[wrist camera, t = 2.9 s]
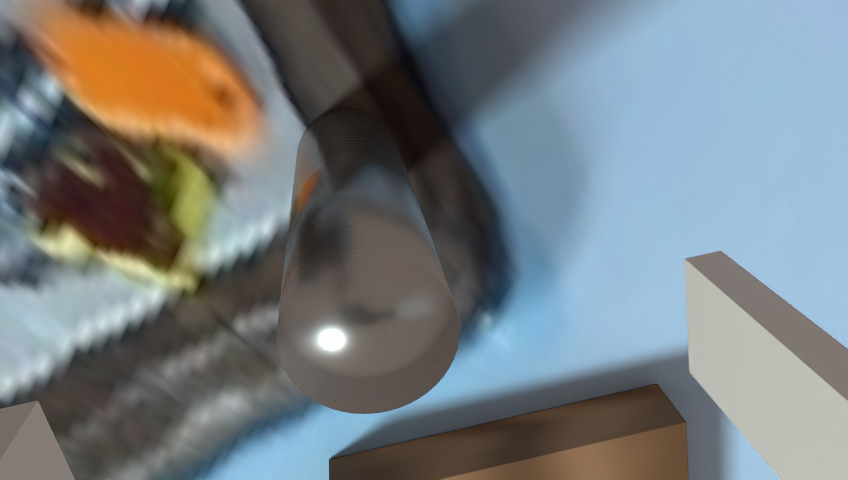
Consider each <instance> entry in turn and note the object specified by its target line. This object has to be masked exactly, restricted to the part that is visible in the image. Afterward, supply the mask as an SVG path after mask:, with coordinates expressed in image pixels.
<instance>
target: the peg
mask: <svg viewBox="0 0 848 480" xmlns="http://www.w3.org/2000/svg"><path fill="white" fill-rule="evenodd" d="M459 335H460V325H459V317H458V313H457V309H456V306H455V303H454V300H453V298H452V295H451V292H450V289H449V287H448V284H447V281H446V278H445V276H444V273H443V270H442V267H441V265H440V262H439V259H438V256H437V254H436V251H435V248H434V245H433V242H432V240H431V237H430V234H429V231H428V229H427V226H426V223H425V220H424V218H423V215H422V212H421V209H420V207H419V204H418V201H417V198H416V196H415V193H414V190H413V187H412V185H411V182H410V179H409V176H408V174H407V171H406V168H405V165H404V162H403V160H402V157H401V154H400V151H399V149H398V146H397V143H396V141H395V138H394V136H393V134H392V133H391V131H390V130H389V128H388V127H387V126H386V125H385V124H384V123H383V122H382V121H381V120H379V119H378V118H377V117H375V116H373V115H372V114H369V113H367V112H364V111H361V110H356V109H340V110H335V111H331V112H329V113H326V114H324V115H322V116H321V117H319V118H317V119H316V120H315V121H314V122H313V123H312V124H311V125H310V126H309V127H308V128H307V129H306V131H305V132H304V134H303V136H302V137H301V140H300V143H299V146H298V150H297V159H296V168H295V176H294V185H293V194H292V203H291V211H290V220H289V229H288V238H287V246H286V255H285V264H284V272H283V281H282V290H281V299H280V307H279V316H278V325H277V336H276V337H277V349H278V353H279V358H280V360H281V363H282V365H283V368H284V369H285V371H286V373H287V375H288V377H289V378H290V379H291V380H292V382H293V383H294V384H295V385H296V386H297V387H298V388H299V389H300V390H301V391H302V392H303V393H304V394H306V395H307V396H308V397H310V398H311V399H313V400H314V401H316V402H318V403H320V404H322V405H324V406H326V407H329V408H331V409H335V410H338V411H342V412H348V413H357V414H371V413H380V412H386V411H390V410H394V409H397V408H400V407H402V406H405V405H407V404H410V403H411V402H413V401H415V400H417V399H419V398H420V397H422V396H423V395H424V394H426V393H427V392H429V391H430V390H431V389H432V388H433V387H434V386H435V385H436V384H437V383H438V382H439V381H440V380H441V379H442V378H443V376H444V375H445V373H446V372H447V370H448V369H449V367H450V365H451V363H452V361H453V359H454V357H455V354H456V351H457V348H458V343H459Z"/></svg>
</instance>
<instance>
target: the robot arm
mask: <svg viewBox="0 0 848 480" xmlns="http://www.w3.org/2000/svg"><path fill="white" fill-rule="evenodd" d="M685 279H686V303H687V327H688V351H689V372H690V373H691V375H692V376H693V377H694V378H695V379H696V380H697V382H698V383H699V384H700V385H701V386H702V387H703V389H704V390H705V391H706V392H707V393H708V394H709V396H710V397H711V398H712V399H713V400H714V401H715V403H716V404H717V405H718V406H719V407H720V409H721V410H722V411H723V412H724V413H725V414H726V416H727V417H728V418H729V419H730V420H731V421H732V423H733V424H734V425H735V426H736V427H737V428H738V430H739V431H740V432H741V433H742V434H743V436H744V437H745V438H746V439H747V440H748V441H749V443H750V444H751V445H752V446H753V447H754V448H755V450H756V451H757V452H758V453H759V454H760V455H761V457H762V458H763V459H764V460H765V461H766V463H767V464H768V465H769V466H770V467H771V468H772V470H773V471H774V472H775V473H776V474H777V475H778V477H779V478H780V479H781V480H848V349H847V348H846V347H845V346H843V345H842V344H841V343H839V342H838V341H837V340H836V339H834V338H833V337H832V336H830V335H829V334H828V333H827V332H825V331H824V330H823V329H821V328H820V327H819V326H817V325H816V324H815V323H814V322H812V321H811V320H810V319H808V318H807V317H806V316H805V315H803V314H802V313H801V312H799V311H798V310H797V309H795V308H794V307H793V306H792V305H790V304H789V303H788V302H786V301H785V300H784V299H782V298H781V297H780V296H779V295H777V294H776V293H775V292H773V291H772V290H771V289H770V288H768V287H767V286H766V285H764V284H763V283H762V282H760V281H759V280H758V279H757V278H755V277H754V276H753V275H751V274H750V273H749V272H748V271H746V270H745V269H744V268H742V267H741V266H740V265H738V264H737V263H736V262H735V261H733V260H732V259H731V258H729V257H728V256H727V255H726V254H724V253H723V252H722V251H718V252H713V253H708V254H704V255H699V256H695V257H690V258H686V259H685ZM0 480H74V477H73V475H72V473H71V471H70V469H69V467H68V465H67V462H66V460H65V458H64V456H63V454H62V452H61V450H60V447H59V445H58V443H57V441H56V439H55V437H54V434H53V432H52V430H51V428H50V426H49V424H48V422H47V419H46V417H45V415H44V413H43V411H42V409H41V407H40V404H39V402H38V401H34V402H30V403H25V404H21V405H16V406H12V407H7V408H3V409H0Z"/></svg>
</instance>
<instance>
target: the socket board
mask: <svg viewBox="0 0 848 480" xmlns="http://www.w3.org/2000/svg"><path fill="white" fill-rule="evenodd" d="M329 480H688V457H687V432H686V421H685V420H684V419H683V417H682V416H681V415H680V413H679V412H678V411H677V409H676V408H675V407H674V405H673V404H672V403H671V401H670V400H669V399H668V397H667V396H666V395H665V393H664V392H663V391H662V389H661V388H660V387H659V385H658V384H655V385H651V386H647V387H642V388H638V389H634V390H629V391H625V392H621V393H616V394H612V395H607V396H603V397H599V398H594V399H590V400H586V401H581V402H577V403H573V404H568V405H564V406H560V407H555V408H551V409H547V410H542V411H538V412H533V413H529V414H525V415H520V416H516V417H512V418H507V419H503V420H499V421H494V422H490V423H486V424H481V425H477V426H473V427H468V428H464V429H459V430H455V431H451V432H446V433H442V434H438V435H433V436H429V437H425V438H420V439H416V440H412V441H407V442H403V443H398V444H394V445H390V446H385V447H381V448H377V449H372V450H368V451H364V452H359V453H355V454H351V455H346V456H342V457H338V458H333V459H329Z"/></svg>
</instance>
